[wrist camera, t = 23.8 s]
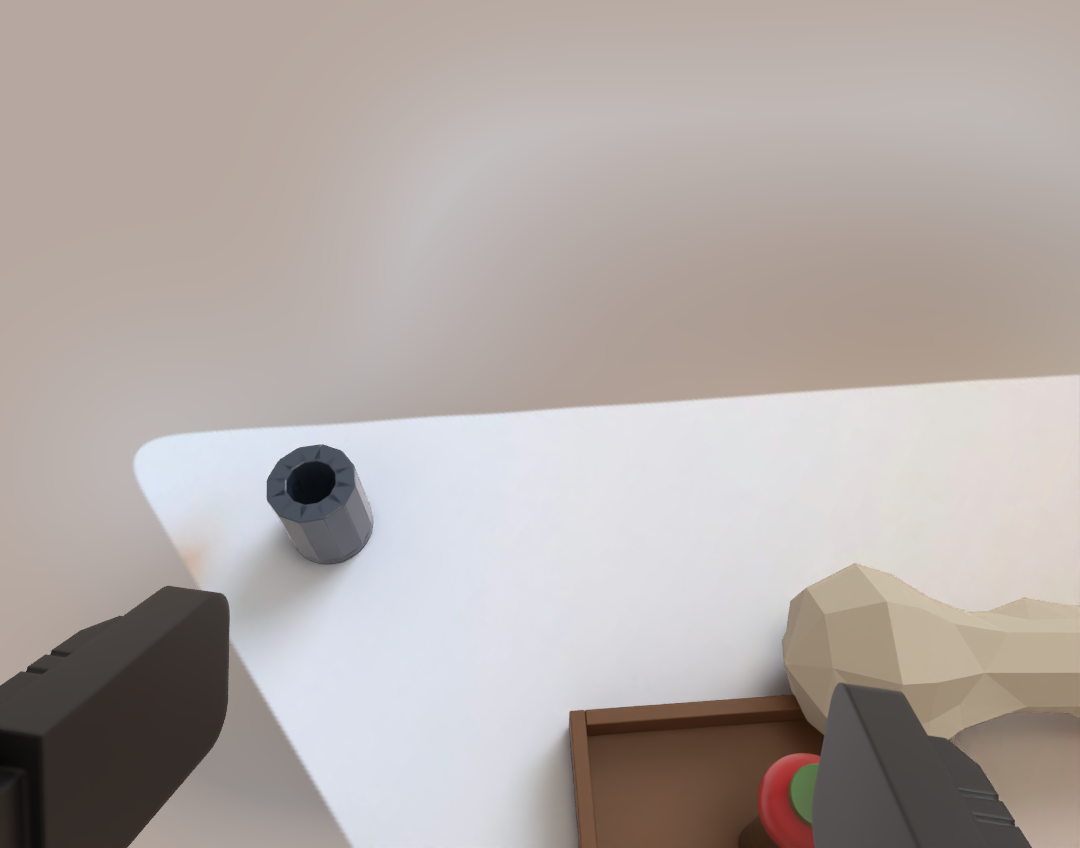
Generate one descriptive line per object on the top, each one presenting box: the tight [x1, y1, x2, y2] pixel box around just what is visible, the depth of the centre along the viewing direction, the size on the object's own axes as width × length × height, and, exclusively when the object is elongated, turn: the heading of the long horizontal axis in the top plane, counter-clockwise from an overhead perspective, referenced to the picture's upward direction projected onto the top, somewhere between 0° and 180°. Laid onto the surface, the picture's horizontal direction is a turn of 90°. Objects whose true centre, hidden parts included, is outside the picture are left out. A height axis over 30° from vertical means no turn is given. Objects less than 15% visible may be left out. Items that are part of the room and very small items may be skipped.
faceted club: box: [782, 563, 1080, 740], centre depth 39 cm, size 9×8×25 cm
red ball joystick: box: [739, 753, 820, 848], centre depth 33 cm, size 3×3×11 cm
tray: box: [569, 695, 824, 848], centre depth 37 cm, size 15×11×3 cm
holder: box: [267, 445, 373, 564], centre depth 45 cm, size 4×4×5 cm
